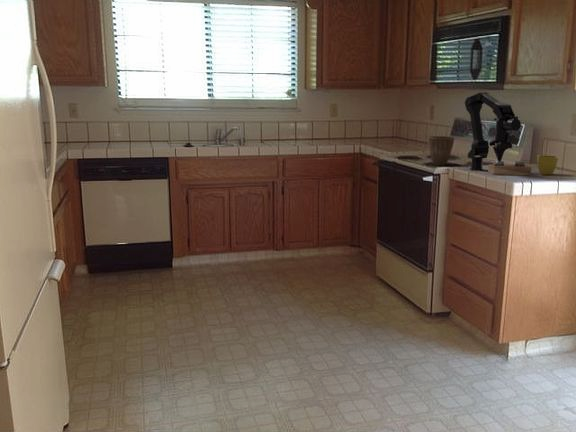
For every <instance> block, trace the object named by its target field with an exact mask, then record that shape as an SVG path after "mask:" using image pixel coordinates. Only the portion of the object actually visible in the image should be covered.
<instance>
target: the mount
mask: <svg viewBox="0 0 576 432" xmlns="http://www.w3.org/2000/svg"><path fill="white" fill-rule="evenodd" d="M487 167H488V169H487V173H489V174H491V175H493V176H495V175H496V176H531V175H532V173H531V172H532V166H529V165H526V164H525V166H516V165H515V164H504V166H496V165H495V164H488V166H487Z"/></svg>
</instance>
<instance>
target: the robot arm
mask: <svg viewBox="0 0 576 432" xmlns="http://www.w3.org/2000/svg"><path fill="white" fill-rule="evenodd" d="M484 104H485V105H486V106H488V107H489V108H490V109H492V113H493V114H494V115H495V117H494V119H493V121H496V122H495V131H494V135H495V136H494V139H492V140H490V141H488V140H485V139H484V133H483V126H482V120H481V119H482V117H481V111H482V108H483V105H484ZM464 105H465V109H466V111H467V112H468V114H469V115H470V116H469V117H470V123H471V130H472V131H471V132H472V138H473V140H472V143H471V145H470V147H471V149H470V150H469V152H468V153H467V158H468V159H471V162H470V164H471V165H470V167H469V168H468V169H469V170H471V171H484V170H485V168H483V164H484V163H483V160H484V159H487V158H488V154H489V151H490V147H492V149H493V151H494V154H495V157H496V159H497V161H502V160H503V157H504V153H505V151H507V150H508V149H513V146H518V144H519V142H520V138H517V137H516V136H515V135H513V134H510V132H511V131H512V132H516V131H519V130H520V129H521V127H522V123H521V121H520V119H519V116H516V115H515V112H514V111H513V108H512V106H511V104H510V103H506V102H501V101H499V100H498V99H496V98H495V97H493V96H492V95H491V94H489V92H487V91H480V92H478V93H476V94H473V95H471V96H467V97H466V98H465V100H464ZM509 131H510V132H509Z"/></svg>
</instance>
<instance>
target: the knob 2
mask: <svg viewBox="0 0 576 432" xmlns="http://www.w3.org/2000/svg"><path fill="white" fill-rule="evenodd" d="M514 162H515V163H514V165H516V166H525V165H526V162H525V161H524V160H515V161H514Z"/></svg>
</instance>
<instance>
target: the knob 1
mask: <svg viewBox="0 0 576 432" xmlns="http://www.w3.org/2000/svg"><path fill="white" fill-rule="evenodd" d="M494 165H496V166H504V165H505V161H504V160H501V161H498V160H494Z"/></svg>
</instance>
